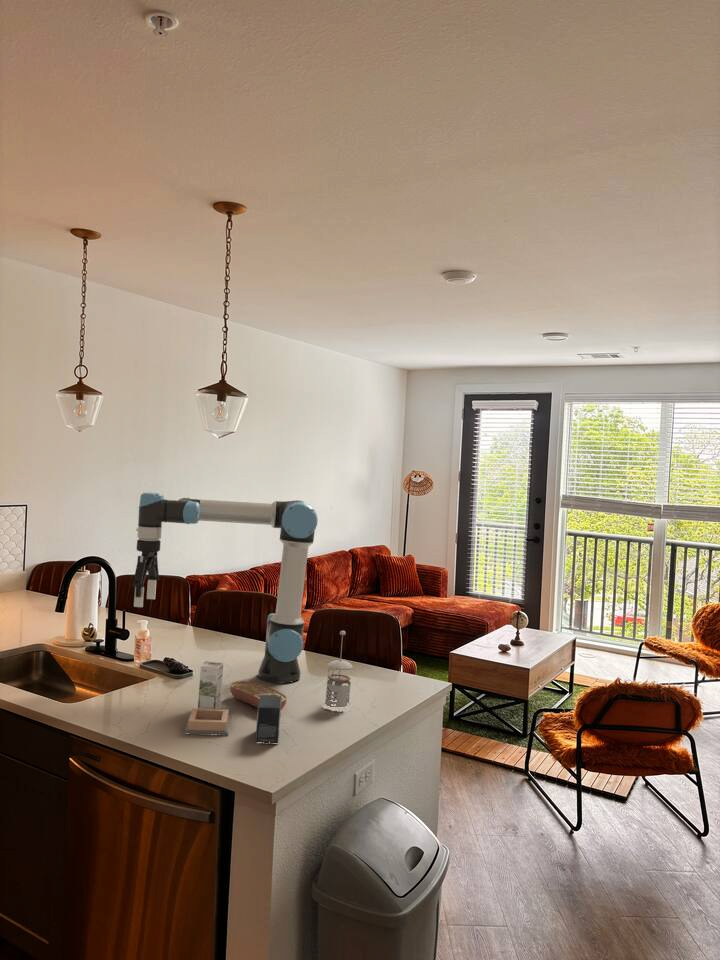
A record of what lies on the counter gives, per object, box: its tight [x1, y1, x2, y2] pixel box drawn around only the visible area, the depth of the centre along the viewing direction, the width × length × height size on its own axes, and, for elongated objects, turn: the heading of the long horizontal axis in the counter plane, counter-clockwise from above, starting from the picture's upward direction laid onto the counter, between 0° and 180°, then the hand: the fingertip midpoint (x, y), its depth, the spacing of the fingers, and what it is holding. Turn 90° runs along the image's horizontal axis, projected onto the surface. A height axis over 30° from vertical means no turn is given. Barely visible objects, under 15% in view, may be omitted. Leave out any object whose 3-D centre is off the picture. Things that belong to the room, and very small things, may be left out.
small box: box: [255, 695, 281, 744], centre depth 204 cm, size 11×6×10 cm, turn 5°
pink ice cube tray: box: [229, 680, 287, 712], centre depth 230 cm, size 23×10×5 cm, turn 47°
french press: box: [324, 630, 354, 707], centre depth 235 cm, size 10×12×25 cm
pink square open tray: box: [184, 707, 232, 736], centre depth 208 cm, size 12×12×4 cm
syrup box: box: [197, 660, 224, 709], centre depth 222 cm, size 6×6×14 cm
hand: (144, 602), depth 240 cm, fingers open, 13 cm apart
